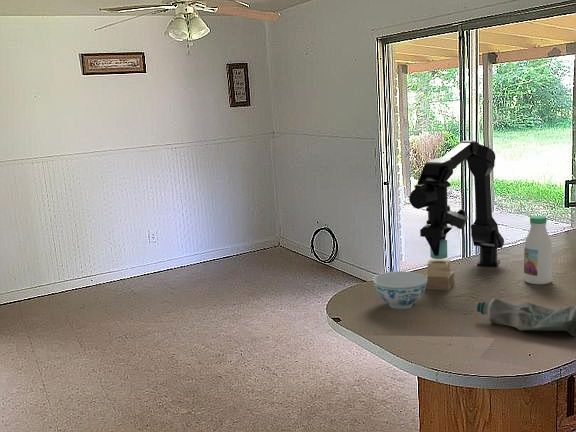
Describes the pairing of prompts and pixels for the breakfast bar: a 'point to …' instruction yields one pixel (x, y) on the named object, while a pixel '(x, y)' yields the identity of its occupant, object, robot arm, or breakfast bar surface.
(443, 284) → the base block
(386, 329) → the breakfast bar surface
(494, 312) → the crushed plastic bottle
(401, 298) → the chinaware
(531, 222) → the milk bottle
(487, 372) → the breakfast bar surface
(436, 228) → the robot arm
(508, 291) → the breakfast bar surface
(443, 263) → the top block
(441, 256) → the teal cylinder
